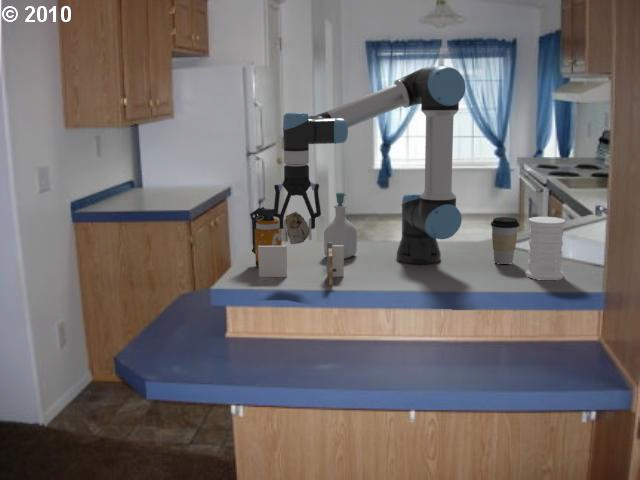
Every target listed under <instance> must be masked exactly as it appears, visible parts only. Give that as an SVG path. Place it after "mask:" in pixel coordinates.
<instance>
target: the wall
mask: <svg viewBox="0 0 640 480" xmlns="http://www.w3.org/2000/svg"><path fill="white" fill-rule="evenodd" d="M287 247H288V246H287V245H282V246H258V261H259V267H258V278H288V250H287V249H288V248H287ZM328 248H332V268H336V272H333V278H335V277H337V278H338V277H339V278H340V277H345V275H344V273H345V272H344V271H345V270H344V269H345V266H344V264H345V263H344V260H345V259H344V245H333V242H327V256H326V259H327V260H326V265H327V266H326V267H327V269H326V272H327V273H326V274H327V275H326V276H328V278H329V255H328Z"/></svg>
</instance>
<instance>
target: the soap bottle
mask: <svg viewBox="0 0 640 480" xmlns="http://www.w3.org/2000/svg"><path fill="white" fill-rule="evenodd" d="M335 194H336V202H337V204H333V208H334V209H335V216H334V219H332V220H331V221H330V222H329V224H327V226H326V228H325V230H324V231H323V236H324V237H323V252H324V255H325V257H327V242H333V245H344V260H345V259H349V258H350V257H353V256H355V255H356V254H357V251H358V249H357V248H358V245H357V244H358V242H357V241H358V240H357V239H358V234H357V233H358V231H357V229H356V227H355V225H353V224H352V223H351V222H350V221H349V220H348V219H347V217H346V208H347V207H348V205H347V204H343V203H344V201H345V200H344V199H345V197H346V196H347V195H346V194H345V192H336V193H335Z"/></svg>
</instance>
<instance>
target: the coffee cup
mask: <svg viewBox="0 0 640 480" xmlns="http://www.w3.org/2000/svg"><path fill="white" fill-rule="evenodd" d="M492 219H493V220H492V221H491V222H490V226H491V229H492V230H491V232H492V233H491V241H492V250H493V261H494V262H495V263H499V264H510V263H512V264H513V263H514V262H513V261H514V255H515V250H516V244H517V239H518V229H519V228H520V226H521V225H520V223H519V221H518V218H514V217H508V216H506V217H504V216H501V217H494V218H492ZM495 263H494V264H495ZM499 264H498V265H499ZM510 265H511V264H510Z"/></svg>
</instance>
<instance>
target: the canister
mask: <svg viewBox="0 0 640 480" xmlns="http://www.w3.org/2000/svg"><path fill="white" fill-rule="evenodd" d="M273 213H274V208H266V207H264V206H261V208H260V207H258V208H256V209H255V210H254V211H252V212H251V213H249V216H250V220H251V230H252V231H251V232H252V235H251V237H252V249H251V252H252V253H253V254H255V255H254V256H255V266H256V267H257V268H259V261H258V246H283V235H282V234H283V229H280V222H279V218H276V217H274V216H273ZM278 213H280V211H278Z"/></svg>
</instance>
